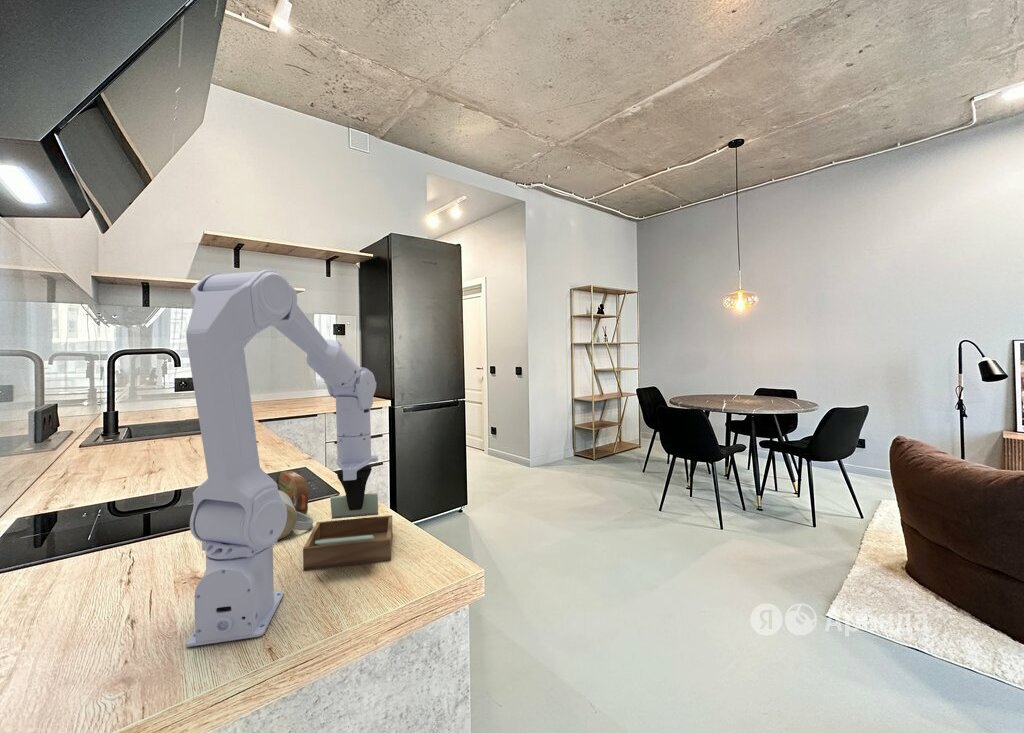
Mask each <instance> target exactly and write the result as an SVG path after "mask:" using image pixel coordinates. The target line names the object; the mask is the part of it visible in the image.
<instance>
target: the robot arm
mask: <svg viewBox="0 0 1024 733" xmlns="http://www.w3.org/2000/svg"><path fill="white" fill-rule="evenodd" d="M189 291H190V292H189V293H190V299H191V306H192V310H191V315H190V318H189V322H188V324H187V327H186V332H185V333H186V334H185V336H186V337H185V338H186V346H187V352H188V353H187V354H188V358H189V364H190V370H191V377H192V379H191V380H192V384H193V391H194V396H195V397H194V398H195V404H196V410H197V416H198V422H199V427H200V428H199V430H200V435H201V441H202V448H203V454H204V455H203V456H204V460H205V467H206V474H207V478H206V480H204V481H203V482H202V483H201V484H200V485H199V486H198V487H196V489H195V490H193V492H192V498H193V505H192V506H193V508H192V511H191V515H190V519H189V530H190V533H191V534H192V536H193V537H194V538H195V539H196V540H197V541H199V542H201V550H202V551H204V552H205V567H206V568H205V570H204V572H203V573H204V574H203V575H202V578H200V580H199V581H198V584H197V585H196V588H195V590H194V628H195V629H194V632H193V633H192V634H191V635H190V637H189V638H188V639H187V640H186V642H185V646H186V647H196V646H197V647H198V646H203V645H211V644H217V643H222V642H223V643H224V642H231V641H237V640H238V641H239V640H245V639H250V638H251V639H253V638H259V637H261V636H263V635H264V634H265V633H266V631H267V628H268V626H269V625H270V622H271V621H272V619H273V617H274V615H275V613H276V611H277V609H278V606H279V604H280V603H281V600H282V599H283V597H284V595H285V592H284V590H277V591H274V590H275V589H274V587H275V586H274V584H275V582H274V545H275V544H277V543H278V540H277V539H278V538H279V537H280V535H281V534H282V532H283V530H284V527H285V525H286V521H287V508H286V505H285V503H284V501H283V500H282V499H281V497H280V495H279V492H278V485H277V483H276V481H275V480H274V479H273V478H272V477H270V475H268V474H267V472H265V471H264V470H263V469H262V467H261V464H260V457H259V456H260V455H259V449H258V443H257V434H256V428H255V421H254V413H253V407H252V406H253V405H252V398H251V391H250V385H249V376H248V369H247V362H246V354H245V347H246V345H248V343H249V342H250V341H251V340H252V339H253V338H254V337H255V336H256V335H257V334H259V333H260V332H263V330H266V329H267V328H269V327H271V326H272V327H274V328H275V329H276V330H277V331H279V332H280V333H281V334H282V335H284V336H285V338H288V340H290V341H291V342H292V343H294V344H295V345H296V346H297V347H298V348H299V349H301V351H303V352H304V353H305V354H306V357H305V358H306V363H307V365H308V366H309V367H310V368H311V370H313V371H314V372H315V373H316V374H317V375H318V376H319V377H320V378H322V379H323V380H324V383H325V385H326V388H327V392H328V394H329V396H330V397H332V398H334V399H335V415H336V418H335V419H336V449H337V451H336V452H337V453H336V454H337V456H336V457H337V459H336V460H335V461H336V466H337V467H338V468H339V470H338V471H337V474H336V475H337V479H338V480H339V482H340V483H341V485H342V487H343V490H344V492H345V496H346V498H347V504H348V508H349V510H350V511H351V510H361V509H362V506H363V501H364V494H366V487H367V483H368V479H369V477H370V475H371V473H372V468H373V467H372V466H370V465H369V464H371V463H373V462H375V463H377V462H378V460H379V455H372V445H371V444H372V441H371V440H372V436H371V430H372V429H371V408H373V405H374V396H375V393H376V390H377V381H376V378H375V375H374V372H373V371H371V370H369V368H367V367H363V366H362V367H361V366H360V365H359V364H358V363H357V362H356V361H355V360H354V358H352V357H351V355H349V353H348V352H347V351H346V350H345V349H344V348H343V347H342V346H343V345H342V344H341V342H340V341H339V340H334V339H331V338H329V339H325V337H324V336H323V335H322V333H321V332H320V331H319V330H318V329H317V327H316V326H315V325H314V323H313V322H312V320H311V319H310V318H309V317H308V316H307V315H306V313H305V312H304V311H303V309H302V308H301V307H300V306H299V304H298V294H297V290H296V288H294V287H293V286H291V285H290V284H289V281H288V280H287V279H286V277H285V276H284V275H283V274H281V272H278V271H277V270H273V269H263V270H259V271H250V272H249V271H248V272H231V273H219V272H216V273H210V274H207V275H206V276H204V277H203V278H202V279H201V280H200V281H198V282H197V283H196V284H195V285H194V286H193V287H191V288H190V290H189ZM368 465H369V466H368Z"/></svg>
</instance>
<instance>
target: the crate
mask: <svg viewBox="0 0 1024 733" xmlns="http://www.w3.org/2000/svg"><path fill="white" fill-rule="evenodd" d="M366 535H373V536H374V540H365V541H355V542H345V543H336V544H326V545H319V544H315V541H316V540H326V539H336V538H346V537H356V536H366ZM392 545H393V515H381V516H367V517H361V518H360V517H359V518H358V517H356V518H349V519H347V518H346V519H338V520H336V519H334V520H327V521H317V522H316V523H315V525H314V528H313V529H312V532H311V533H310V535H309V536H308V539H307V540H306V543H305V545H304V546H303V548H302V559H303V563H302V564H303V566H302V569H303V572H305V571H314V570H320V569H322V570H323V569H328V568H329V569H330V568H331V569H332V568H339V567H347V566H355V565H356V566H357V565H364V564H372V563H373V564H374V563H381V562H391V558H392V548H391V547H392Z"/></svg>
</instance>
